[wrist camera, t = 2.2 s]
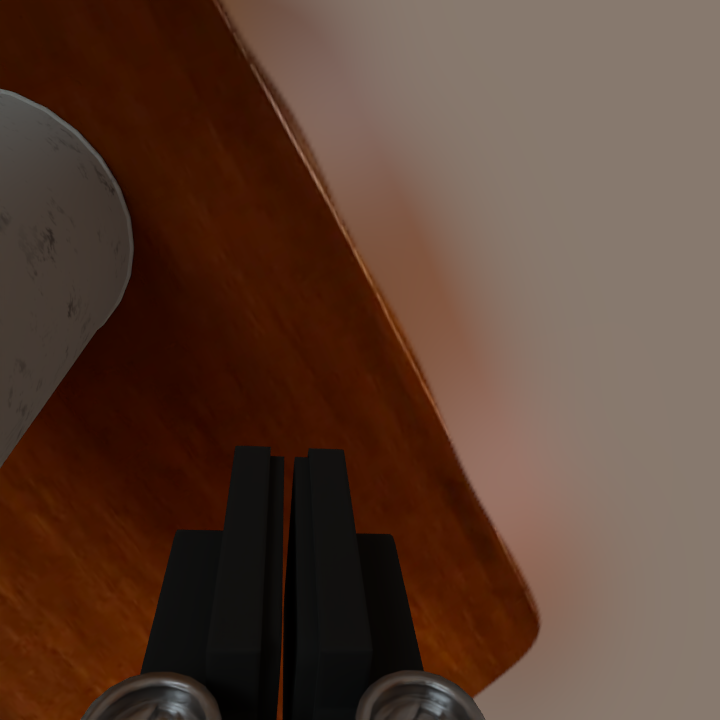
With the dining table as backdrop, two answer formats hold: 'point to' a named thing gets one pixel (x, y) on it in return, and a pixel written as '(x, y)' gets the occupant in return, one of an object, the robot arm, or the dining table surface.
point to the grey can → (52, 256)
